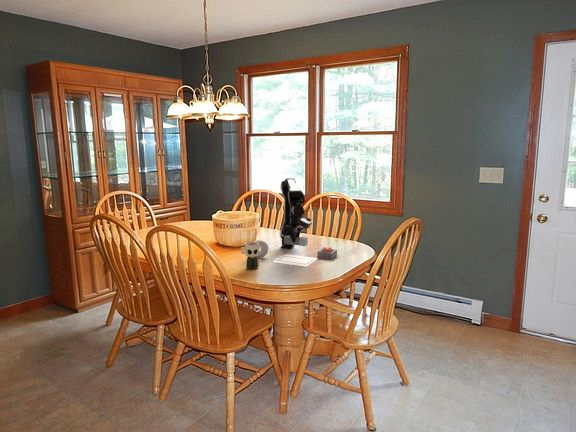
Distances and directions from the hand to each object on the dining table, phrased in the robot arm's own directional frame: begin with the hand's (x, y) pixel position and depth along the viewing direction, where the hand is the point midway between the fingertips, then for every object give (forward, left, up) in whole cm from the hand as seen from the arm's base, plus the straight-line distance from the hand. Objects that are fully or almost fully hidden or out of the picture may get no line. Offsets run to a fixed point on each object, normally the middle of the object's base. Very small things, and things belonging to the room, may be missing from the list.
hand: (295, 242), depth 228 cm
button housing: (+13, +14, -10) cm, 22 cm away
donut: (-20, -4, -10) cm, 23 cm away
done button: (+13, +14, -9) cm, 21 cm away
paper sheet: (0, 0, -10) cm, 10 cm away
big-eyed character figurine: (-14, -22, -10) cm, 28 cm away
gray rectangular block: (0, 0, -1) cm, 1 cm away
